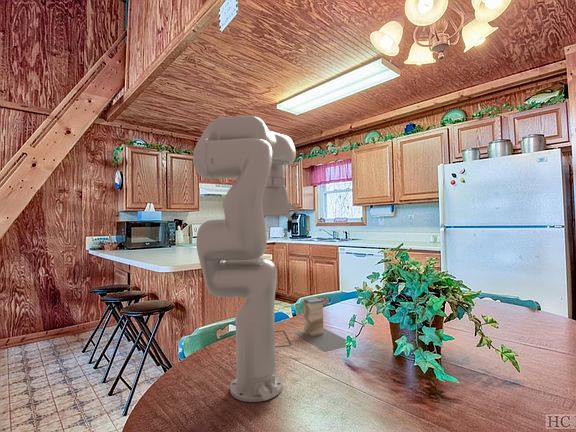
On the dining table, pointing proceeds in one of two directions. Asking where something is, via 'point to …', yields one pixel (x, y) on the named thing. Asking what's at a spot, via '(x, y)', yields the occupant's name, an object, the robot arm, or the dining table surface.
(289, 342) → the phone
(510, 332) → the dining table surface
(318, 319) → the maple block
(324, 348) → the rubber mat
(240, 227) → the robot arm
